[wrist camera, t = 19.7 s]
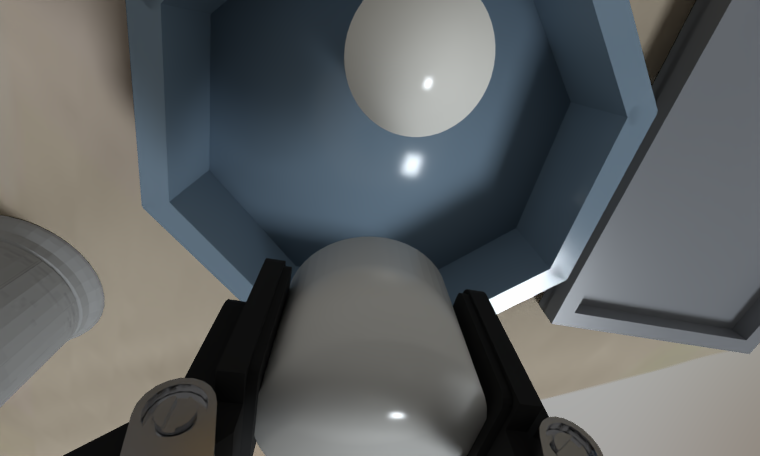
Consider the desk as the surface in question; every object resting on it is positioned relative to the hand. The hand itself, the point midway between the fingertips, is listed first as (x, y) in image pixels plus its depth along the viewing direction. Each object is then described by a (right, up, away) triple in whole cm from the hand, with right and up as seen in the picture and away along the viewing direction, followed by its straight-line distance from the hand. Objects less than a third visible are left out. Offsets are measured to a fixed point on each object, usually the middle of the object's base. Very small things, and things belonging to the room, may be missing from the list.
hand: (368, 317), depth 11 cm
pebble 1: (+2, +10, +5) cm, 11 cm away
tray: (+19, +5, +9) cm, 22 cm away
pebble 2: (0, 0, +1) cm, 1 cm away
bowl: (+1, +7, +7) cm, 10 cm away
